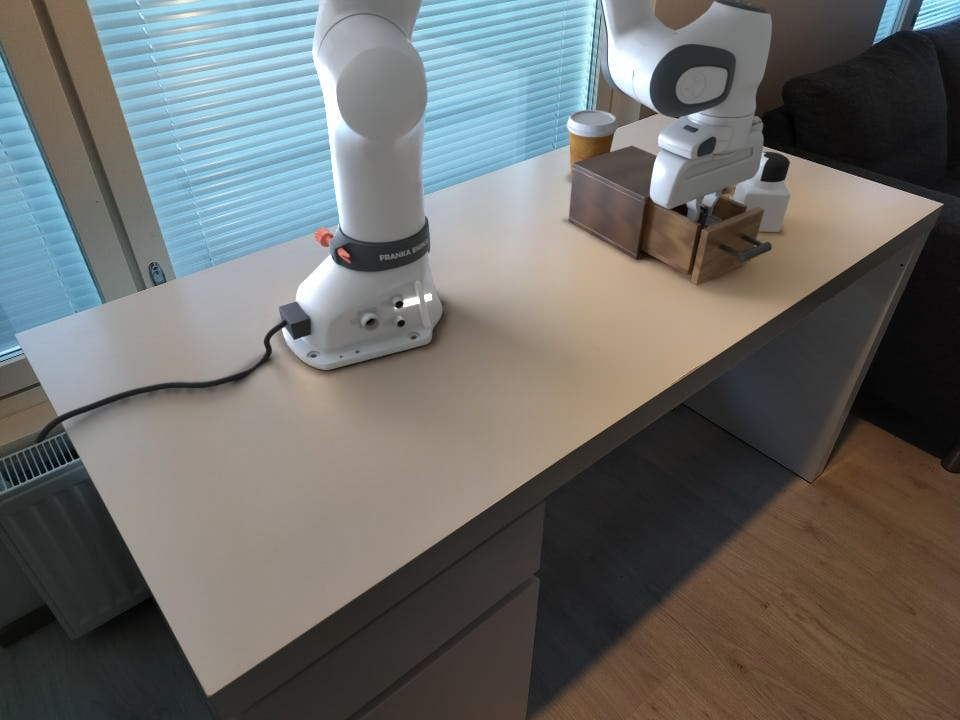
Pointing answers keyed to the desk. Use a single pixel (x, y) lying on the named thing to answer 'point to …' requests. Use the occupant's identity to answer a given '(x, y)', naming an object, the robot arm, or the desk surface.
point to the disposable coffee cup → (590, 134)
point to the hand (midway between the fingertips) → (698, 218)
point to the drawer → (704, 238)
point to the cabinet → (613, 197)
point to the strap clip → (708, 219)
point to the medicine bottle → (767, 191)
